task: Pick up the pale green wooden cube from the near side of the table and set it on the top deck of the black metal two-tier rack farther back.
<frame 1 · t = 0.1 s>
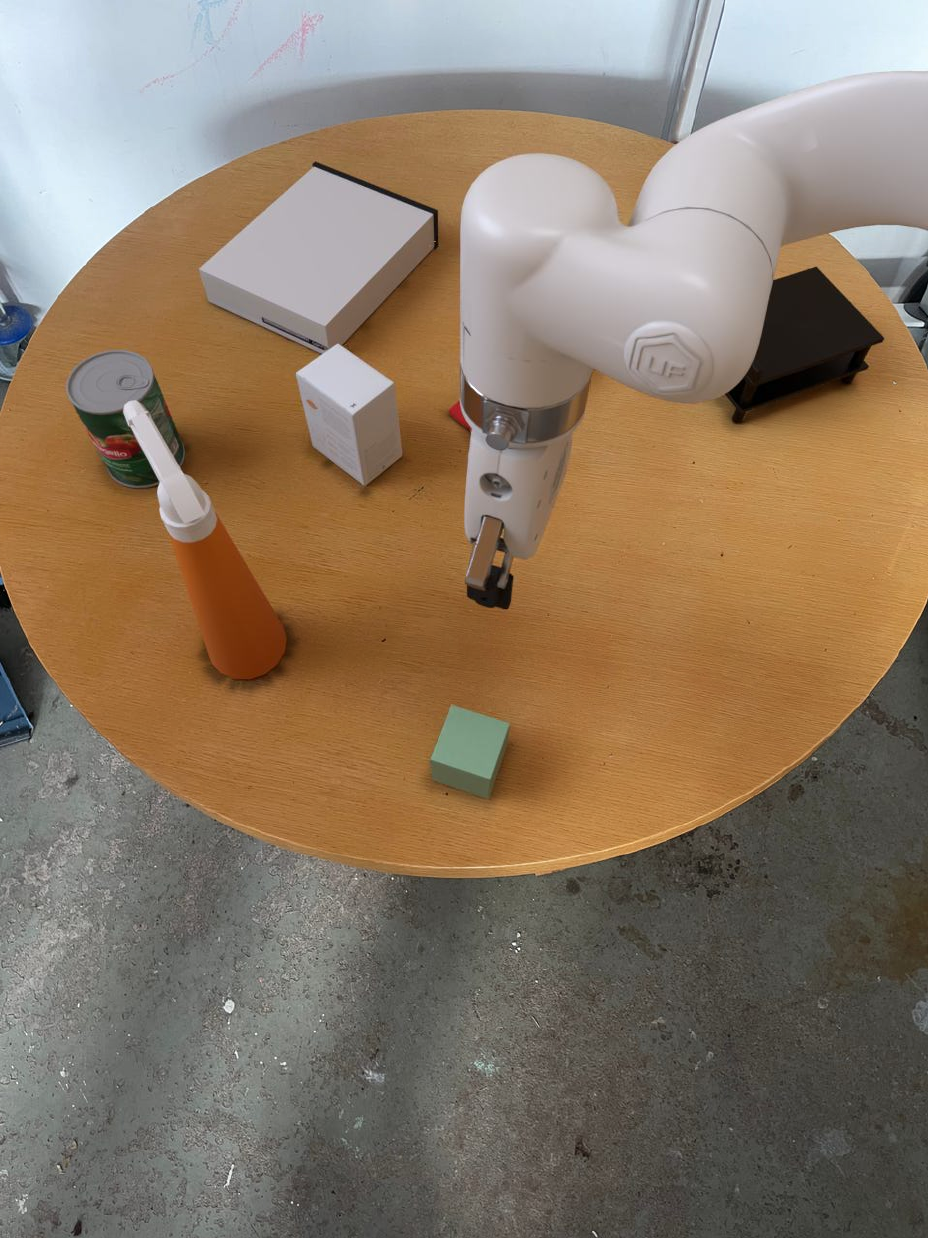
hand: (509, 548, 65), 15 cm above the table, tool pointing down, fingers open, 9 cm apart
canned tomato: (147, 459, 89), on the table
rack: (766, 369, 96), on the table
cube: (469, 763, 73), on the table
spray bottle: (239, 631, 79), on the table
disc drive: (326, 274, 103), on the table
small box: (357, 453, 90), on the table
toy figure: (515, 396, 94), on the table
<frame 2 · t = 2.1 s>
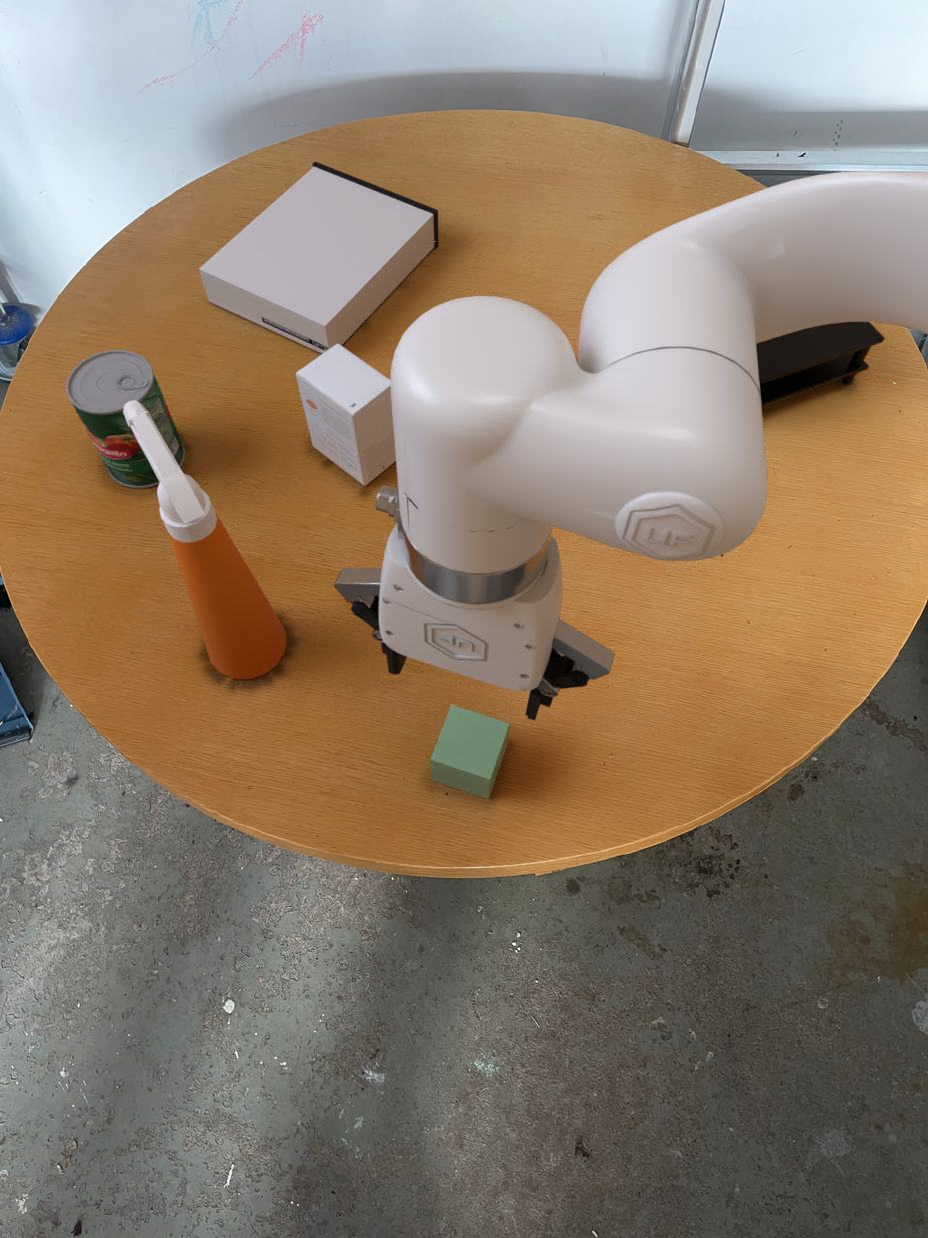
hand: (468, 677, 59), 17 cm above the table, tool pointing down, fingers open, 9 cm apart
nothing on the table moved.
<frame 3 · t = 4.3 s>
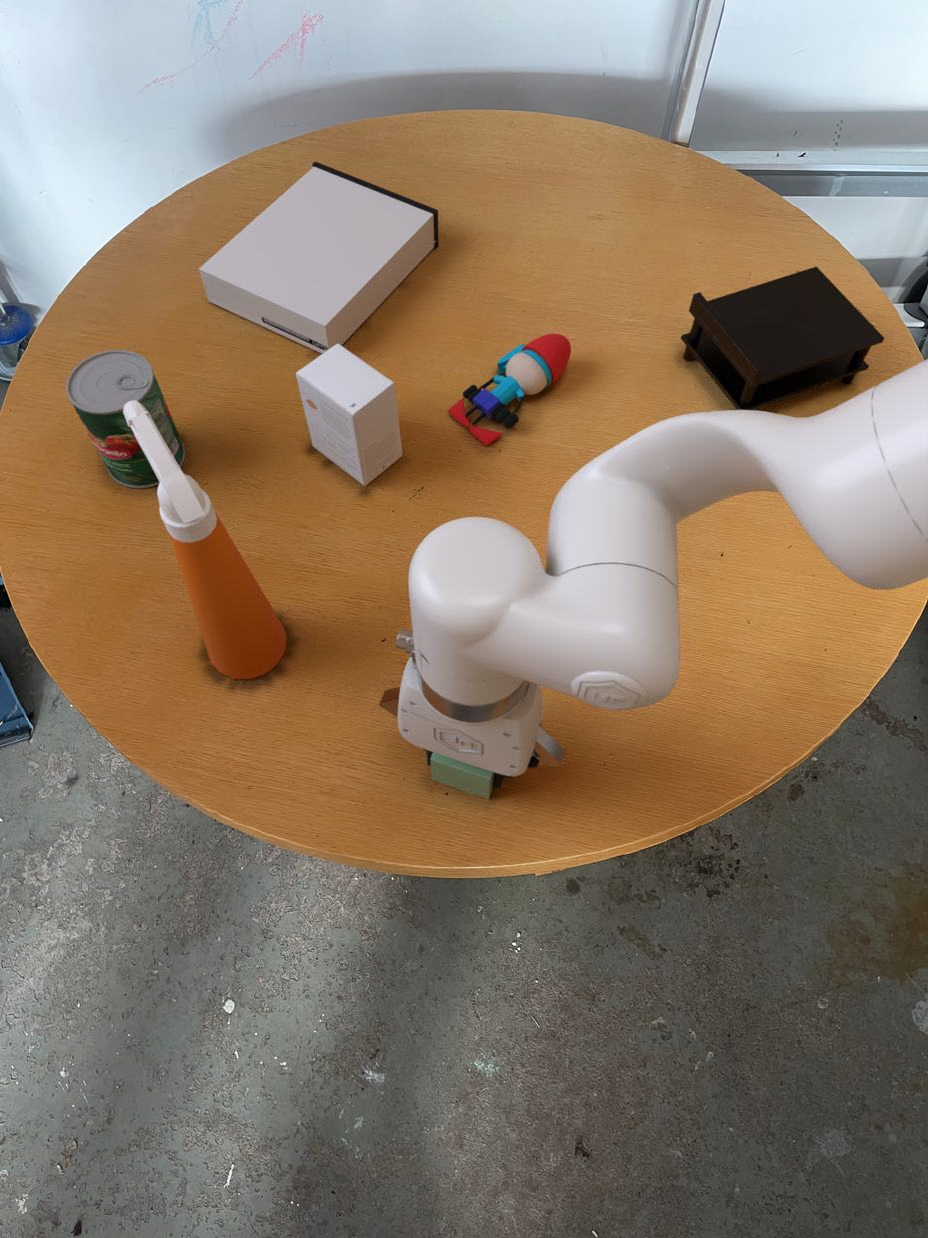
hand: (470, 760, 72), 1 cm above the table, tool pointing down, fingers closed on cube, 5 cm apart
cube: (469, 763, 73), on the table, touching gripper
everything else where it was.
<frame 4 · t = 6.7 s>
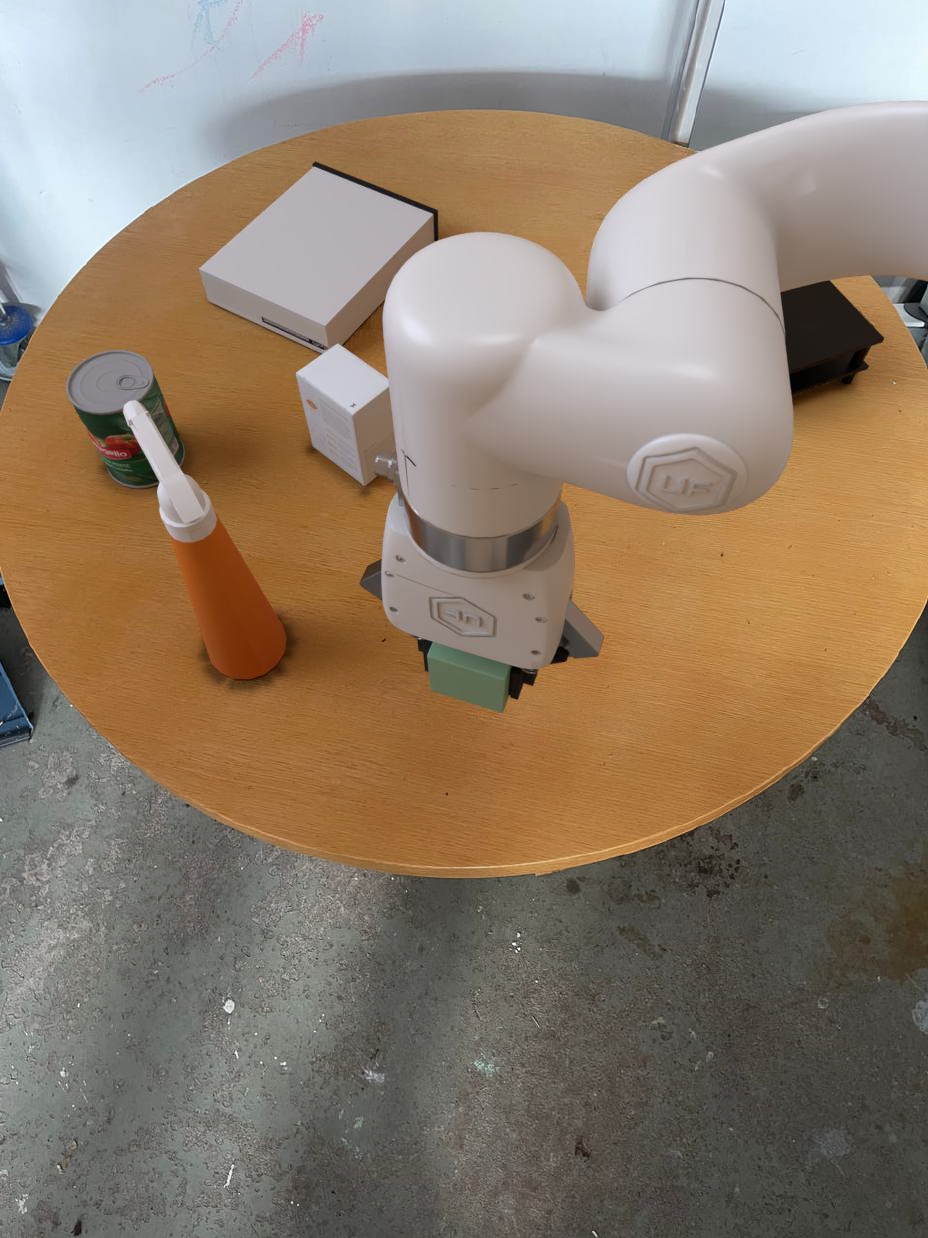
hand: (478, 665, 57), 19 cm above the table, tool pointing down, fingers closed on cube, 5 cm apart
cube: (478, 669, 57), point 18 cm above the table, touching gripper
everything else where it was.
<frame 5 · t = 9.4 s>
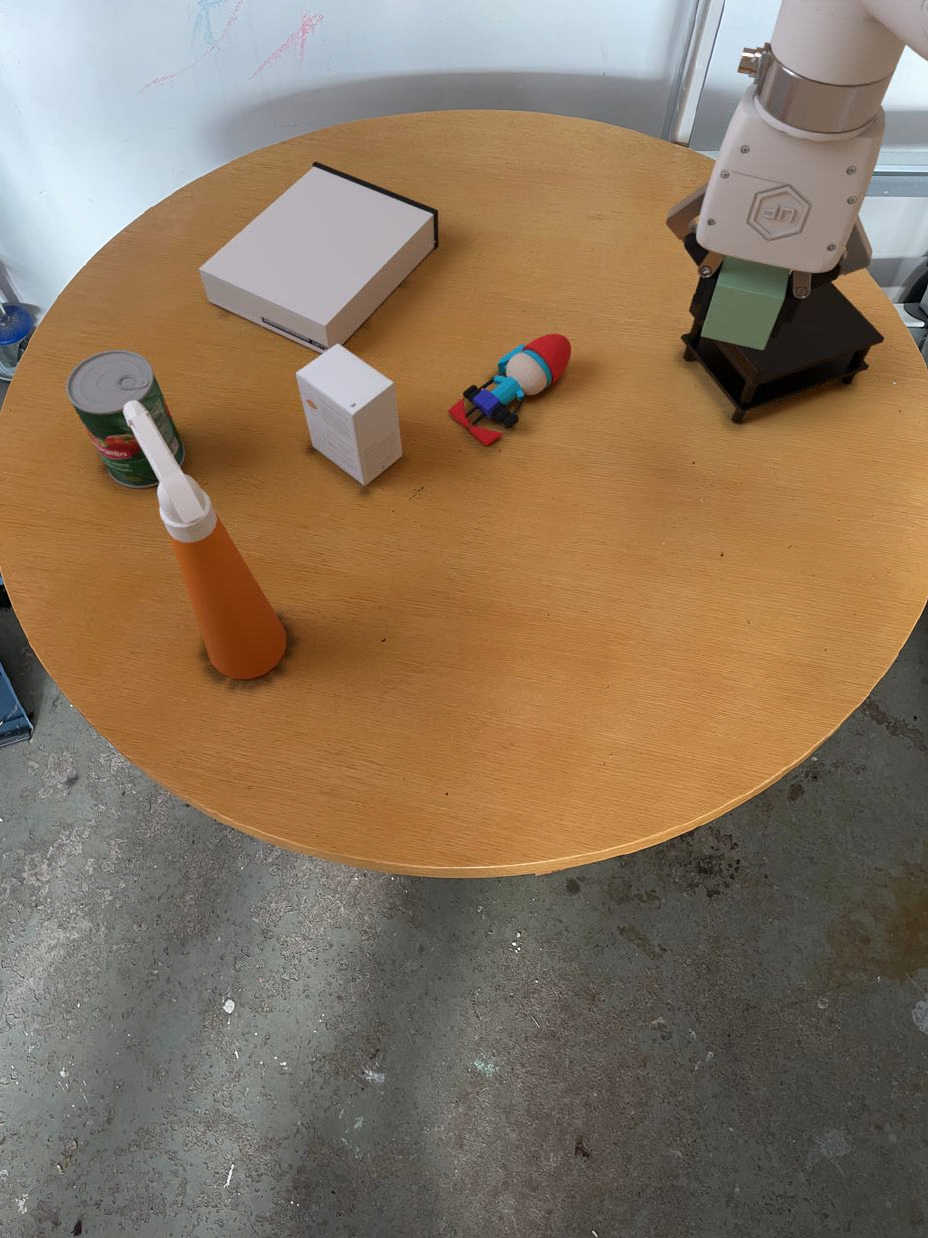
hand: (739, 316, 69), 21 cm above the table, tool pointing down, fingers closed on cube, 5 cm apart
cube: (737, 322, 69), point 21 cm above the table, touching gripper
everything else where it was.
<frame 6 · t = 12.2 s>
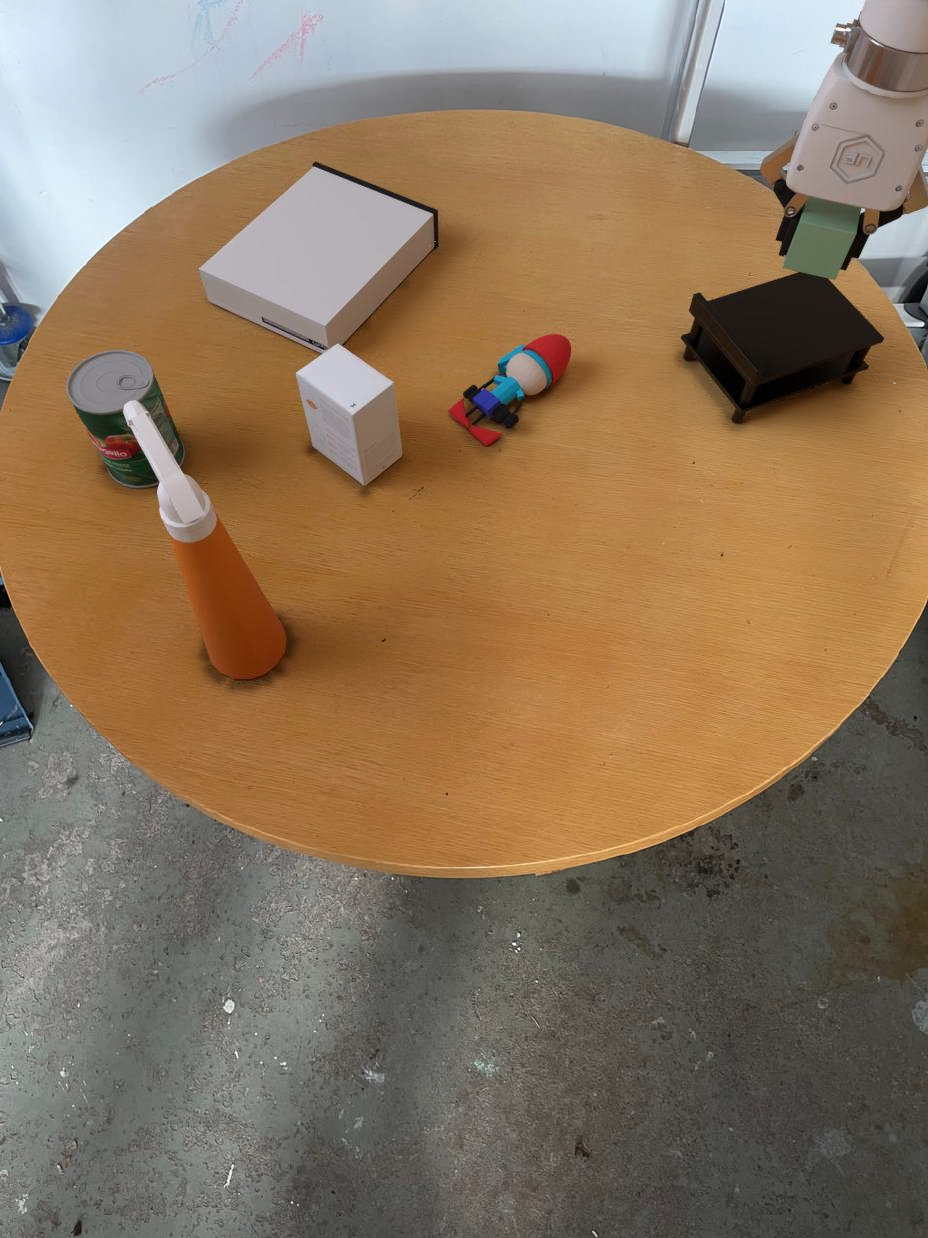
hand: (814, 252, 83), 15 cm above the table, tool pointing down, fingers closed on cube, 5 cm apart
cube: (812, 257, 83), point 14 cm above the table, touching gripper
everything else where it was.
when the fingers open (7 cm above the table, at t = 14.4 s): cube stays where it is, resting on rack.
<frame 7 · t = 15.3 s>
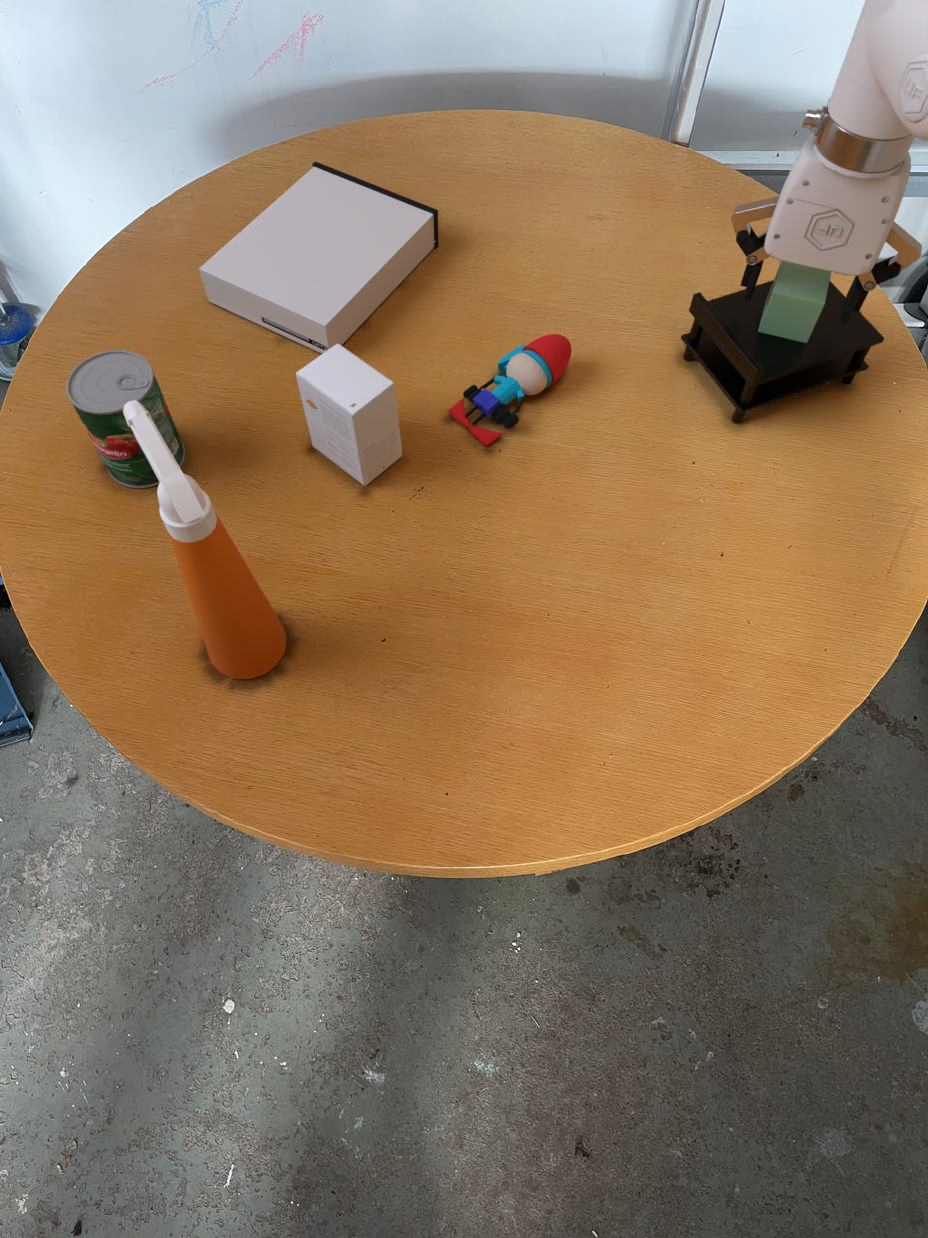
hand: (796, 302, 87), 9 cm above the table, tool pointing down, fingers open, 9 cm apart
cube: (786, 321, 90), point 7 cm above the table, touching rack
everything else where it was.
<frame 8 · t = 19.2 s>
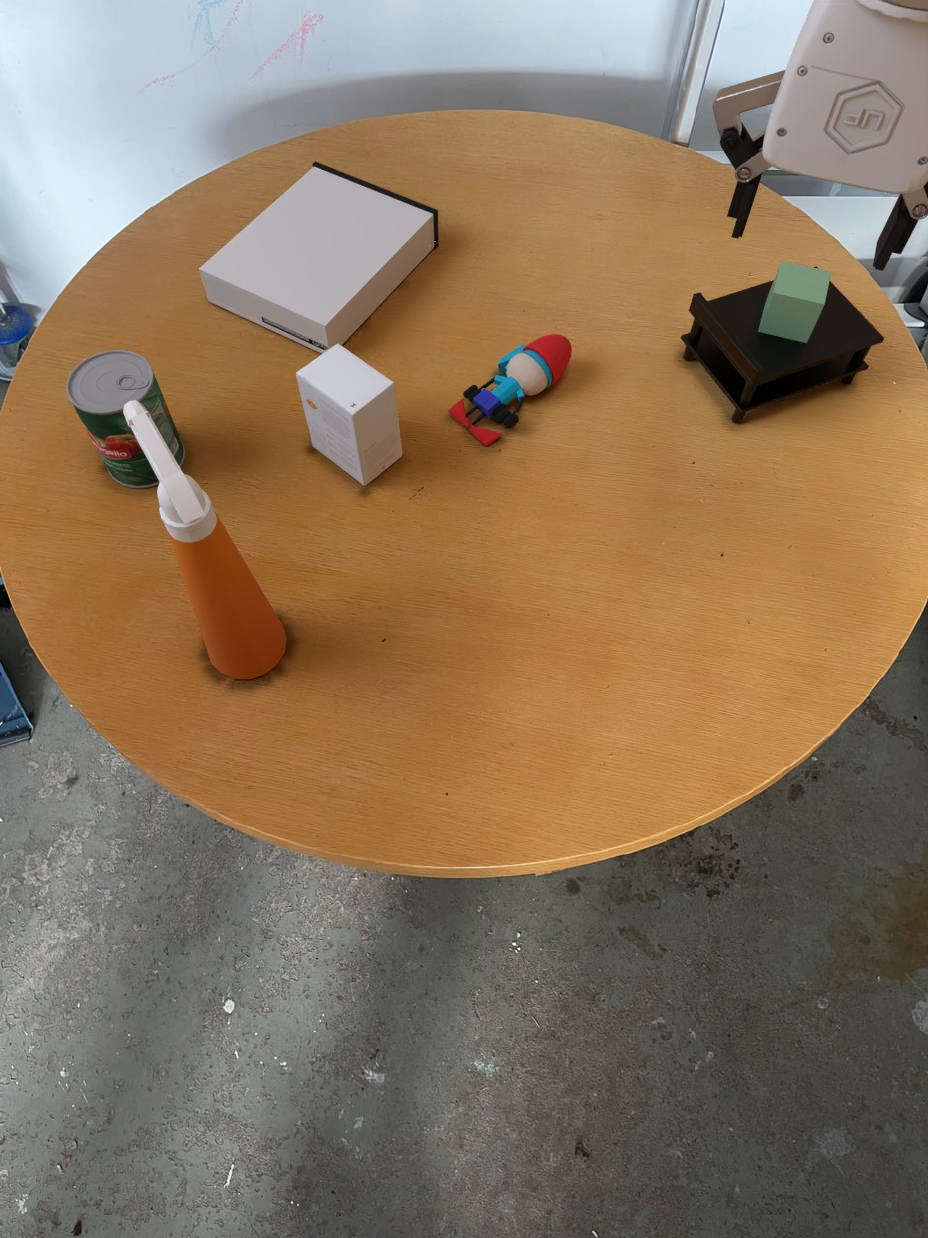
hand: (808, 241, 60), 30 cm above the table, tool pointing down, fingers open, 9 cm apart
nothing on the table moved.
at the end: cube inside the target area on the rack (0.0 cm from its centre), point 6.6 cm above the rack's base; cube tilted 0°; the gripper is holding nothing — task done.
